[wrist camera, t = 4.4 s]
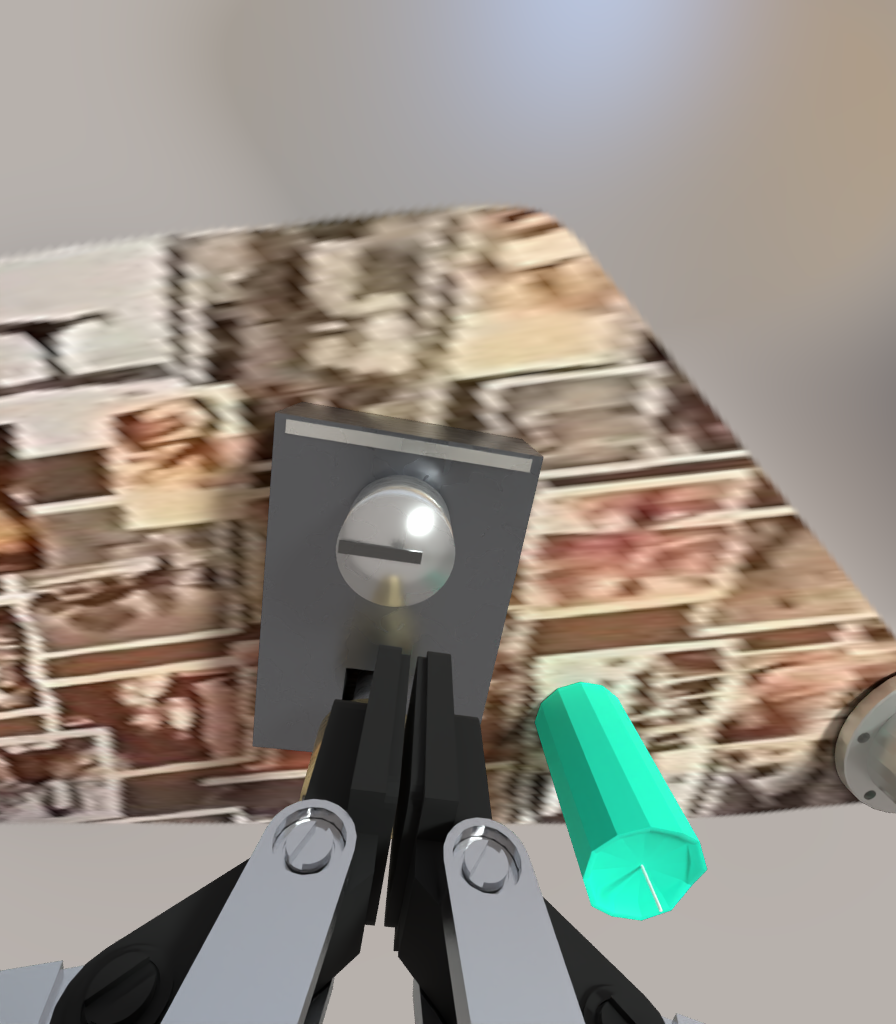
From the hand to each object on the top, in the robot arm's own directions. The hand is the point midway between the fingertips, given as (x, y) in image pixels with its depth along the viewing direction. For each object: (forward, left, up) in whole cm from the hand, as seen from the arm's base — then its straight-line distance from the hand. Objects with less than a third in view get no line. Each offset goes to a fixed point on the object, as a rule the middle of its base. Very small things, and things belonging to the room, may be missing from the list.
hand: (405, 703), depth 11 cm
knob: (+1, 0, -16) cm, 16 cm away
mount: (+1, +5, -17) cm, 18 cm away
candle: (-13, +14, -18) cm, 26 cm away
